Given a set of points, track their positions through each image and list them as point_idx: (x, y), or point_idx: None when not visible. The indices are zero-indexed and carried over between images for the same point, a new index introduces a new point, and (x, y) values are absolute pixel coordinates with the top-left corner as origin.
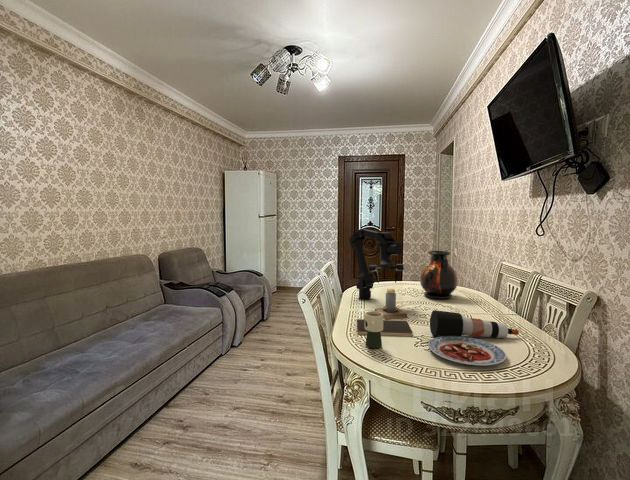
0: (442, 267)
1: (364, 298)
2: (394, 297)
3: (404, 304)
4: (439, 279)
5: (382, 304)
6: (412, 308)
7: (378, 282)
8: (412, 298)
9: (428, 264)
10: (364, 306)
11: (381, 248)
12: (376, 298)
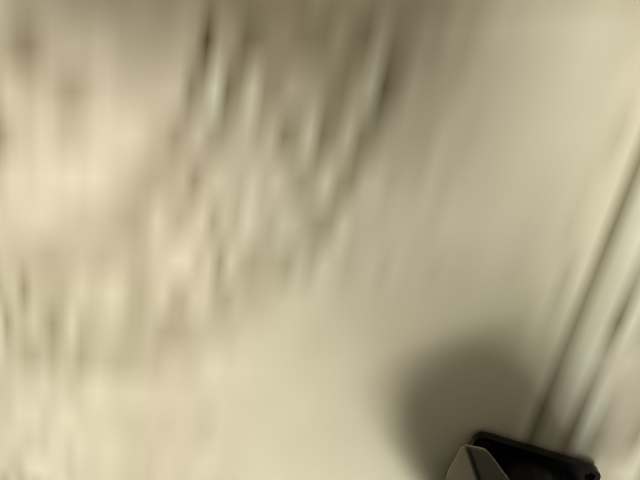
0: None
1: (530, 460)
2: None
3: (111, 252)
4: None
5: (358, 262)
6: (27, 85)
7: (479, 461)
8: (34, 438)
9: None
10: (631, 179)
11: None
12: (376, 475)
